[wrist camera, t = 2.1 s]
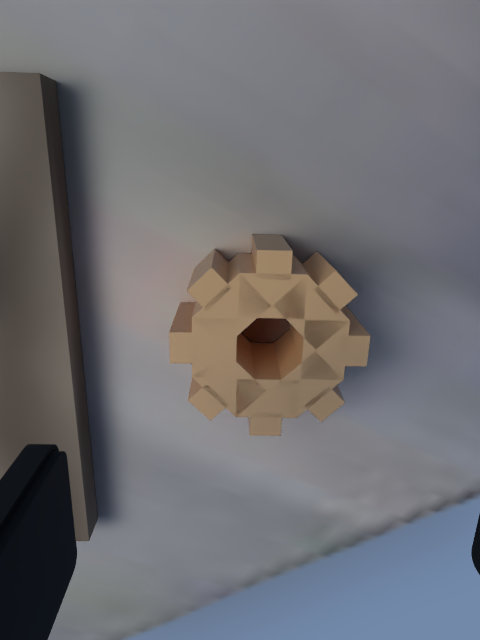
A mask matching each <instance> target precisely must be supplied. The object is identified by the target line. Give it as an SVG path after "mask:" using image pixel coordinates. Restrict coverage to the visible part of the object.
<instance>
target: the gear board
mask: <svg viewBox="0 0 480 640" xmlns="http://www.w3.org/2000/svg"><path fill="white" fill-rule="evenodd" d="M28 444H55V445H57V447H58V449H59V451H65V452H66V454H67V461H68V470H69V480H70V489H71V499H72V509H73V518H74V528H75V538H76V541H89V540H90V537H91V535H92V532H93V529H94V527H95V524H96V521H97V519H98V514H97V504H96V493H95V483H94V472H93V462H92V451H91V441H90V430H89V420H88V409H87V399H86V389H85V378H84V368H83V357H82V347H81V336H80V326H79V315H78V305H77V294H76V284H75V273H74V263H73V253H72V242H71V232H70V221H69V211H68V200H67V190H66V179H65V169H64V158H63V148H62V137H61V127H60V117H59V106H58V96H57V85H56V81H55V80H53V79H51V78H48V77H46V76H44V75H42V74H40V73H15V72H0V479H1V478H2V477H3V475H4V474H5V473H6V471H7V470H8V469H9V467H10V466H11V465H12V463H13V462H14V461H15V459H16V458H17V457H18V455H19V454H20V453H21V451H22V450H23V449H24V447H25V446H26V445H28Z"/></svg>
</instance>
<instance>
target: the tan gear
mask: <svg viewBox="0 0 480 640" xmlns="http://www.w3.org/2000/svg"><path fill="white" fill-rule="evenodd" d="M292 254H293V251H292V249H291V248H290V246H289V245H288V243H287V242H286V241H285V239H284V238H283V236H282V235H264V234H252V254H248V253H238V254H237V255H236V256H235V257H234V258H233V259H232V260H231V261H230V262H228V261H227V260H226V259H225V258H224V257H223V256H222V255H221V254H220V253H219V252H218V251H217V250H216V249H214V250H213V251H212V252H211V253H210V254H209V255H208V256H207V257H206V258H205V259H204V260H203V261H202V262H201V263H200V264H199V265H198V266H197V267H196V268H195V269H194V272H193V274H192V277H191V280H190V283H189V286H188V289H187V292H188V293H189V294H190V295H191V296H192V297H193V298H194V299H195V300H196V303H180V305H179V307H178V310H177V313H176V315H175V318H174V321H173V324H172V326H171V329H170V332H169V341H170V363H191V364H192V381H191V387H190V392H189V397H188V401H189V402H190V403H191V404H192V405H194V406H195V407H196V408H197V409H198V410H199V411H200V412H201V413H203V414H204V415H205V416H206V417H207V418H208V419H209V420H210V421H211V420H212V419H213V418H214V417H215V416H216V415H218V414H219V413H220V412H221V411H222V410H223V409H225V408H226V409H228V410H229V411H230V412H231V413H232V414H233V415H234V416H235V417H249V432H250V435H267V436H281V423H282V418H297V417H298V416H299V415H301V414H302V413H303V412H304V411H306V410H307V409H308V410H309V411H310V412H311V413H312V414H313V415H314V416H315V417H316V418H317V419H318V420H320V421H321V422H322V421H323V420H324V419H326V418H327V417H328V416H329V415H331V414H332V413H333V412H334V411H336V410H337V409H338V408H339V407H341V406H342V405H343V404H345V401H344V399H343V397H342V395H341V393H340V391H339V388H338V386H337V385H338V384H339V383H340V382H341V381H343V380H344V371H345V366H367V360H368V352H369V345H370V337H371V336H370V335H369V333H368V332H367V331H366V330H365V328H364V327H363V326H362V325H361V324H360V322H359V321H358V320H357V319H356V317H355V316H354V315H353V314H352V312H351V311H350V310H349V309H348V307H347V306H345V305H347V304H348V303H349V302H350V301H351V300H352V299H354V298H355V297H356V296H357V295H358V294H357V293H356V292H355V291H354V290H353V289H352V288H351V286H350V285H349V284H348V283H347V282H346V281H345V280H344V279H343V278H342V276H341V275H340V274H339V273H338V272H337V271H336V270H335V269H334V268H333V267H332V266H331V265H330V264H329V263H328V262H327V261H326V260H325V259H324V258H323V257H322V256H321V255H320V254H319V253H318V251H317V252H315V253H314V254H313V255H312V256H311V257H310V258H309V259H308V260H307V261H305V262H304V263H303V264H302V263H301V262H300V261H299V260H298V259H297V258H296V256H295V255H292ZM257 318H285V319H286V320H287V321H288V322H289V323H290V329H289V330H288V331H287V332H285V333H284V334H283V335H282V336H281V337H280V338H279V339H277V340H276V341H275V342H274V343H250V342H249V341H248V340H247V339H246V338H245V337H244V336H243V335H242V334H241V332H242V331H243V330H244V329H245V328H247V327H248V326H249V325H250V324H251V323H252V322H253V321H254V320H256V319H257Z"/></svg>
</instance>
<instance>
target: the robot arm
mask: <svg viewBox="0 0 480 640" xmlns="http://www.w3.org/2000/svg"><path fill="white" fill-rule="evenodd" d="M76 559H77V547H76V538H75V528H74V518H73V509H72V499H71V489H70V480H69V470H68V461H67V454H66V452H65V451H59V449H58V447H57V445H55V444H28V445H26V446H25V447H24V449H23V450H22V451H21V453H20V454H19V455H18V457H17V458H16V459H15V461H14V462H13V463H12V465H11V466H10V467H9V469H8V470H7V471H6V473H5V474H4V475H3V477H2V478H1V479H0V640H47V639H48V637H49V634H50V632H51V629H52V626H53V624H54V621H55V619H56V616H57V613H58V611H59V608H60V606H61V603H62V601H63V598H64V595H65V593H66V590H67V588H68V585H69V582H70V580H71V577H72V575H73V572H74V569H75V565H76ZM472 560H473V563H474V566H475V568H476V569H477V571H478V573H479V574H480V515H479V519H478V524H477V528H476V532H475V537H474V541H473V546H472Z"/></svg>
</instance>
